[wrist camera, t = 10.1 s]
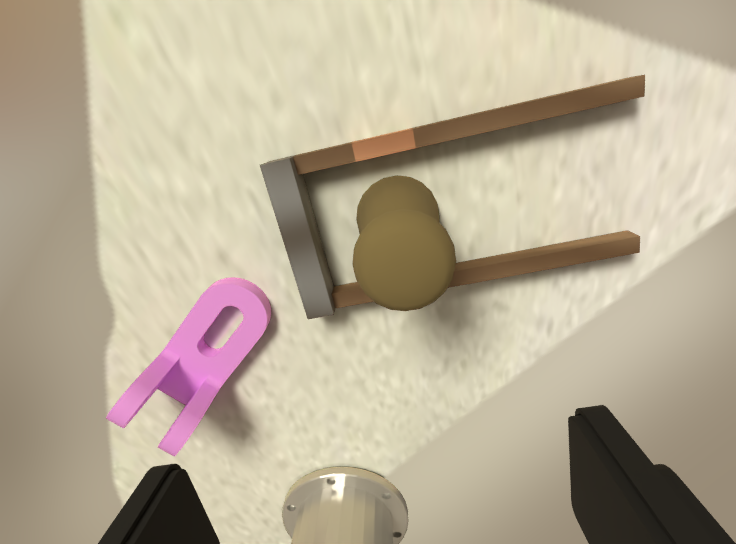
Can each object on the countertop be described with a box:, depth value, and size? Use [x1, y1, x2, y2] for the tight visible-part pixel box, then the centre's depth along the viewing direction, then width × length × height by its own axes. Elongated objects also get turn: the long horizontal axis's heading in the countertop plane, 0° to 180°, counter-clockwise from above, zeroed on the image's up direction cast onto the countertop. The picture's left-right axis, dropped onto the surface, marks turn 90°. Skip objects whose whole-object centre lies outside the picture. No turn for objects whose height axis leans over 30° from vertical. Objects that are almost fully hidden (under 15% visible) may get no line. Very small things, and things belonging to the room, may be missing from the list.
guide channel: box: [260, 75, 645, 319], centre depth 27 cm, size 11×24×2 cm, turn 103°
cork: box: [353, 176, 456, 311], centre depth 23 cm, size 6×6×11 cm
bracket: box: [106, 278, 271, 456], centre depth 30 cm, size 13×6×7 cm, turn 142°
